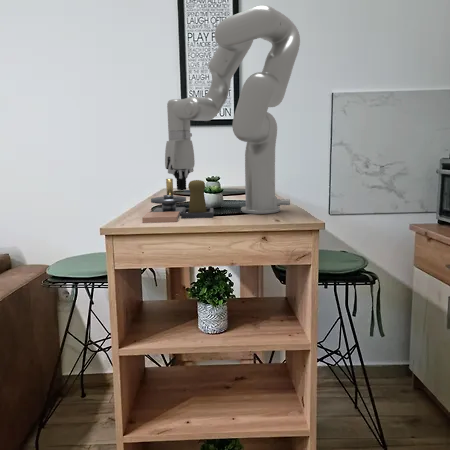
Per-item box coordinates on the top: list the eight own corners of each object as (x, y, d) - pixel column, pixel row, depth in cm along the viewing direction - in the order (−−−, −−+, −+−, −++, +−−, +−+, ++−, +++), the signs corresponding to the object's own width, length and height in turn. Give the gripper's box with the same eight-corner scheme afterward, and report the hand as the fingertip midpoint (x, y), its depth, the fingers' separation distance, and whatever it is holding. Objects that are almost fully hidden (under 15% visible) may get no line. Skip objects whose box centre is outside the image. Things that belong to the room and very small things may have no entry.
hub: (185, 208, 158) (184, 200, 158) (183, 213, 149) (182, 204, 148) (156, 209, 158) (155, 200, 158) (152, 214, 149) (151, 205, 148)
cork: (204, 217, 140) (203, 181, 138) (185, 217, 141) (184, 181, 139) (209, 214, 146) (208, 179, 144) (191, 213, 147) (189, 179, 145)
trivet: (180, 216, 143) (179, 211, 143) (177, 221, 133) (176, 216, 133) (147, 217, 143) (147, 212, 143) (142, 222, 133) (142, 217, 133)
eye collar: (213, 212, 149) (213, 207, 148) (213, 217, 139) (212, 212, 139) (183, 213, 148) (183, 208, 148) (181, 218, 139) (181, 213, 139)
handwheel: (187, 198, 159) (186, 178, 158) (184, 203, 147) (184, 181, 146) (153, 199, 159) (152, 179, 158) (148, 204, 147) (147, 182, 146)
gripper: (188, 136, 166) (190, 187, 169) (155, 137, 156) (158, 191, 159) (203, 136, 161) (204, 188, 164) (169, 136, 150) (171, 192, 154)
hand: (181, 189), depth 162 cm, fingers closed
